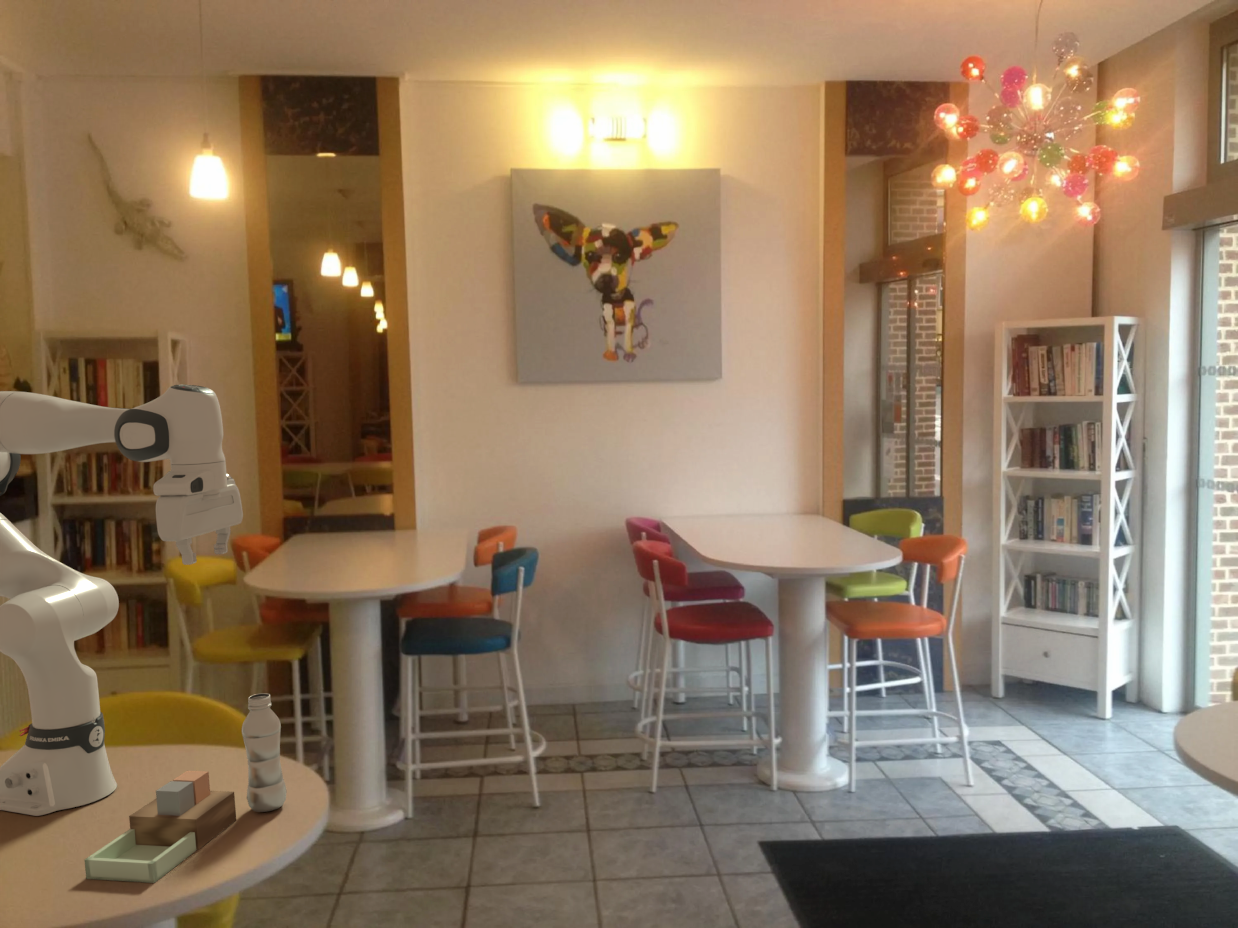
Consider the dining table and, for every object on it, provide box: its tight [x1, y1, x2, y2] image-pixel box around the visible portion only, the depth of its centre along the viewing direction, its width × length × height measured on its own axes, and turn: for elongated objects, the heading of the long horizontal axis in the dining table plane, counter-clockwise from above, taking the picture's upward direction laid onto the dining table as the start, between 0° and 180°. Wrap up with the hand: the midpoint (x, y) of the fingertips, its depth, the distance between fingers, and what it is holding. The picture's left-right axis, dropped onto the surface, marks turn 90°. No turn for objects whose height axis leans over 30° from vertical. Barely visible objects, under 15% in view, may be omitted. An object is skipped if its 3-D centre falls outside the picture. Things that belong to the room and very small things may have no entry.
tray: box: [84, 828, 197, 884], centre depth 165 cm, size 12×11×3 cm
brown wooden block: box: [128, 790, 237, 851], centre depth 176 cm, size 12×11×5 cm
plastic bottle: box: [241, 692, 287, 813], centre depth 184 cm, size 6×7×20 cm
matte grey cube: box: [155, 780, 195, 816], centre depth 173 cm, size 4×4×4 cm
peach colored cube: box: [172, 770, 211, 804], centre depth 177 cm, size 4×4×4 cm
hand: (205, 558), depth 184 cm, fingers open, 8 cm apart
